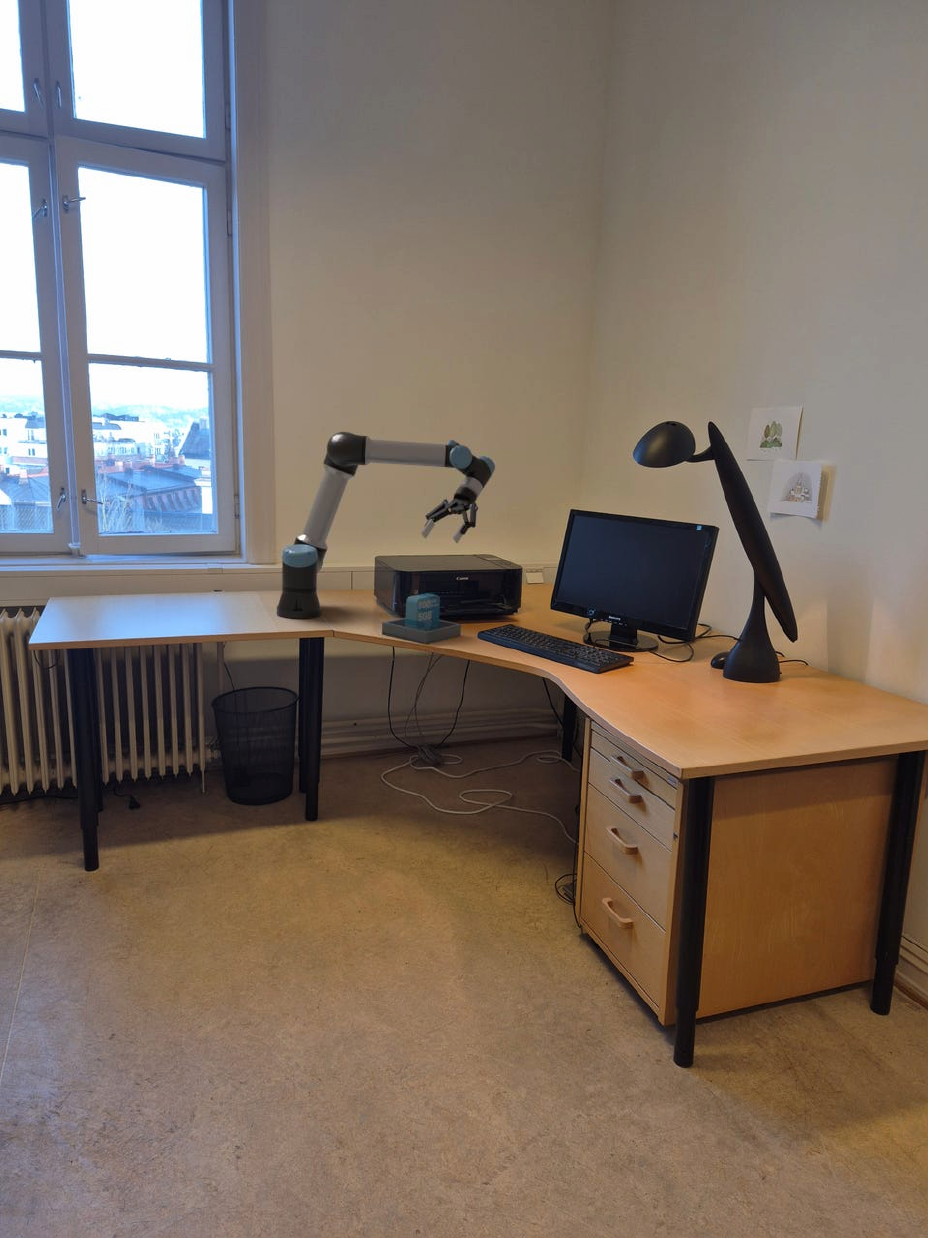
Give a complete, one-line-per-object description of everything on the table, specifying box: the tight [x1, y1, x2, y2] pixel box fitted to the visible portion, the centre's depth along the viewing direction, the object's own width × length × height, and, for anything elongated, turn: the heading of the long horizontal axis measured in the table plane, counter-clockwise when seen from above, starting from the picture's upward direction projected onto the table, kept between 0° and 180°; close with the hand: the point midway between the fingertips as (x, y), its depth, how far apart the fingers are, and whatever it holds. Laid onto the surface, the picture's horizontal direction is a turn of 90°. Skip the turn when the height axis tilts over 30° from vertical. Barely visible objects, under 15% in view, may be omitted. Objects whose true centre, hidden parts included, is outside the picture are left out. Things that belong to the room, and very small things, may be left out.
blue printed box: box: [405, 592, 441, 632], centre depth 243 cm, size 12×4×12 cm, turn 145°
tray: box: [381, 617, 462, 646], centre depth 244 cm, size 18×18×4 cm
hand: (439, 537), depth 257 cm, fingers open, 13 cm apart
